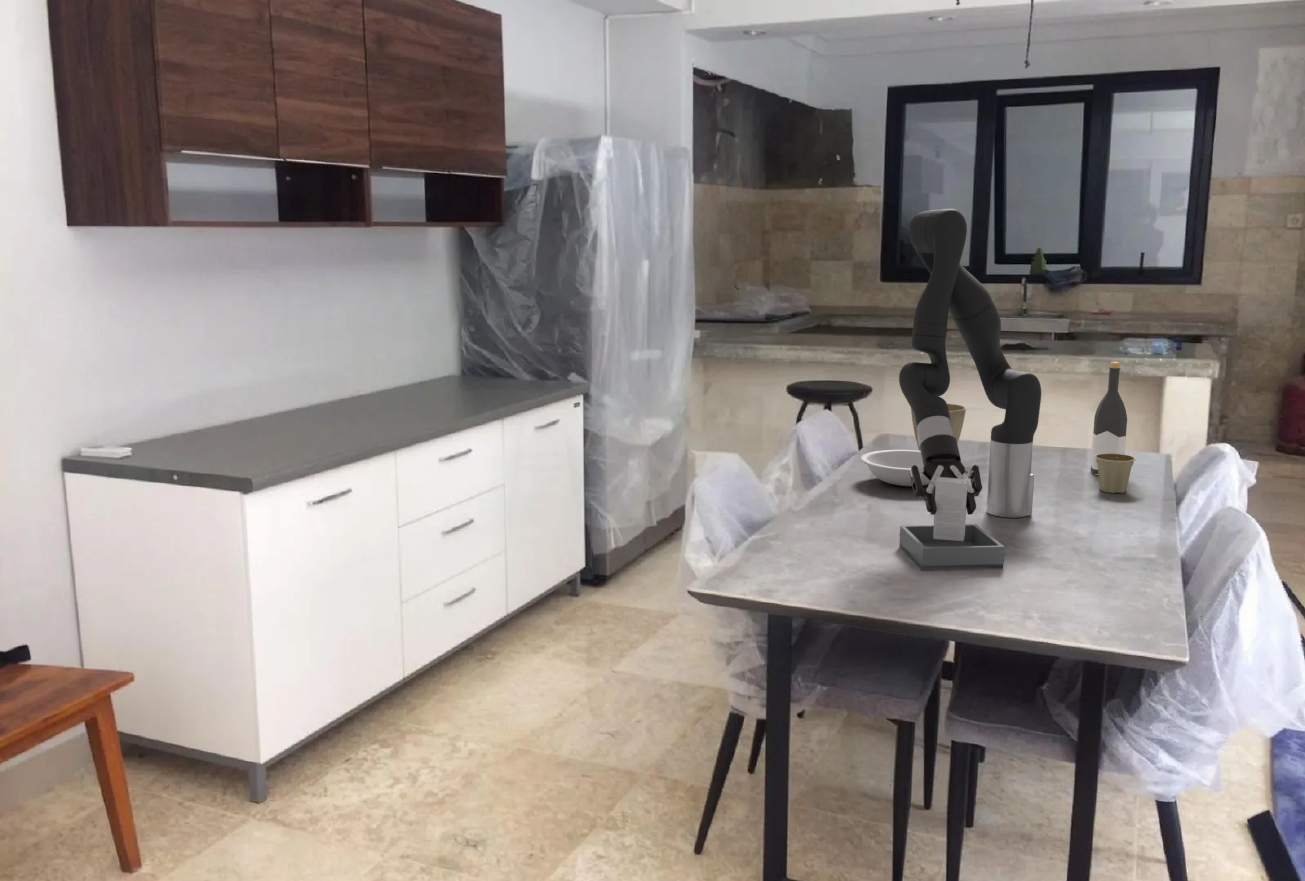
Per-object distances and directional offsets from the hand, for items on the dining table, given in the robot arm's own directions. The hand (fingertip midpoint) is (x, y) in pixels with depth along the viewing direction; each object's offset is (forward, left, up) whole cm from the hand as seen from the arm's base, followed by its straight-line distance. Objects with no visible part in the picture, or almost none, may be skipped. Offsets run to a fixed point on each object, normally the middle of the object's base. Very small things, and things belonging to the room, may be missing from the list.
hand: (952, 512), depth 211 cm
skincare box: (0, -1, -6) cm, 6 cm away
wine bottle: (-65, -70, -10) cm, 96 cm away
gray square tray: (0, -1, -10) cm, 10 cm away
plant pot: (-24, -87, -10) cm, 91 cm away
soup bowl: (-9, -63, -10) cm, 65 cm away
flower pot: (-58, -52, -10) cm, 79 cm away
